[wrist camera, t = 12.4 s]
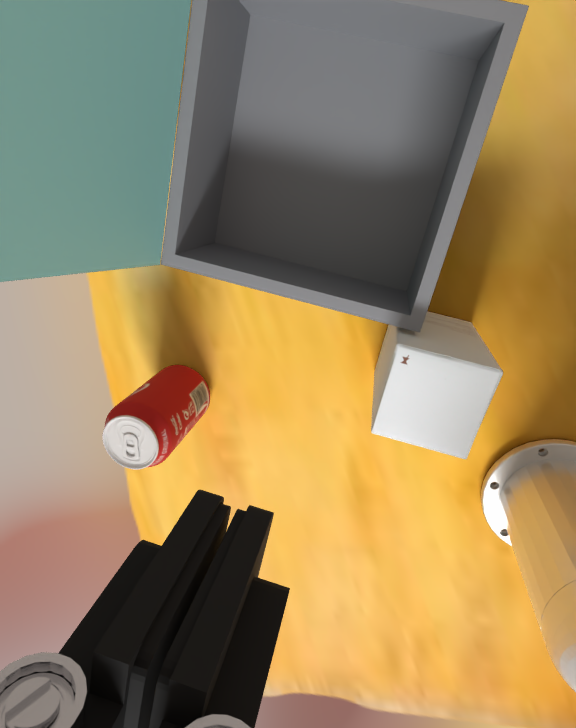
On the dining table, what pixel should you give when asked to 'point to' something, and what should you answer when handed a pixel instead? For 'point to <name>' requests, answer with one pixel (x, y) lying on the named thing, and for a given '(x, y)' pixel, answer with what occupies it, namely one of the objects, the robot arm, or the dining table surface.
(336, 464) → the dining table surface
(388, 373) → the supplement box
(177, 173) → the box
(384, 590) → the dining table surface
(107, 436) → the beverage can
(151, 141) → the lid
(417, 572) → the dining table surface
